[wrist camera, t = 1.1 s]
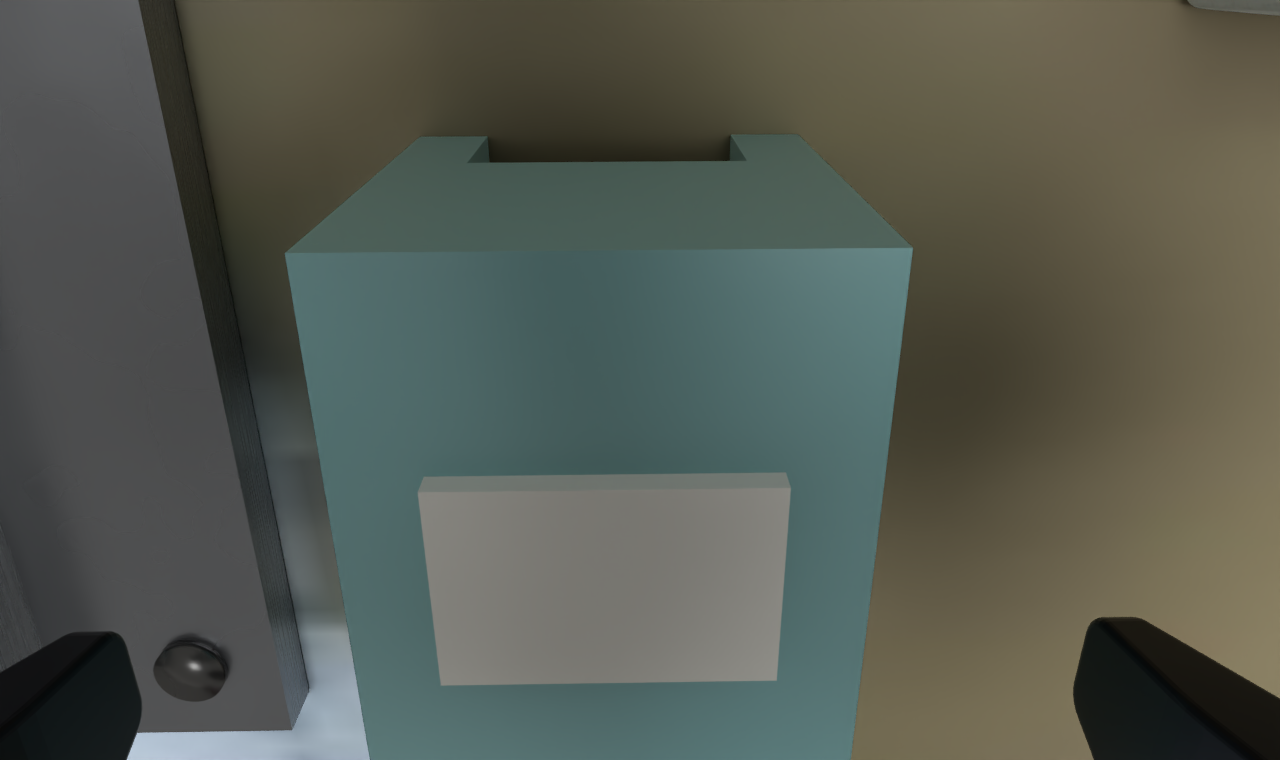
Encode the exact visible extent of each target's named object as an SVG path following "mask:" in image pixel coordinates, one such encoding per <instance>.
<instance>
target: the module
mask: <svg viewBox="0 0 1280 760" xmlns="http://www.w3.org/2000/svg"><path fill="white" fill-rule="evenodd" d="M912 253H913V247H912V246H911V245H910V244H909V243H908V242H907V241H906V240H905V239H904V238H903V237H902V236H901V235H900V234H899V233H898V232H897V231H896V230H894V229H893V228H892V227H891V226H890V225H889V224H888V223H887V222H886V221H885V220H884V219H883V218H882V217H881V216H880V215H879V214H878V213H877V212H876V211H875V210H874V209H873V208H872V207H871V206H870V205H869V204H868V203H867V202H866V201H865V200H864V199H863V198H862V197H861V196H860V195H859V194H858V193H857V192H856V191H855V190H854V189H853V188H852V187H851V186H850V185H849V184H848V183H847V182H846V181H845V180H844V179H843V178H842V177H841V176H840V175H839V174H838V173H837V172H836V171H835V170H834V169H833V168H832V167H831V166H830V165H829V164H828V163H827V162H826V161H825V160H823V159H822V158H821V157H820V156H819V155H818V154H817V153H816V152H815V151H814V150H813V149H812V148H811V147H810V146H809V145H808V144H807V143H806V142H805V141H804V140H803V139H802V138H801V137H800V136H799V135H798V134H750V135H731V138H730V161H661V162H522V163H490V162H489V148H488V136H456V137H419V138H418V139H417V140H416V141H414V142H413V143H412V144H411V145H410V146H409V147H407V148H406V149H405V150H404V151H403V152H402V153H400V154H399V155H398V156H397V157H396V158H395V159H393V160H392V161H391V162H390V163H389V164H388V165H386V166H385V167H384V168H383V169H382V170H381V171H380V172H378V173H377V174H376V175H375V176H374V177H373V178H371V179H370V180H369V181H368V182H367V183H366V184H364V185H363V186H362V187H361V188H360V189H359V190H357V191H356V192H355V193H354V194H353V195H352V196H350V197H349V198H348V199H347V200H346V201H345V202H344V203H342V204H341V205H340V206H339V207H338V208H337V209H335V210H334V211H333V212H332V213H331V214H330V215H328V216H327V217H326V218H325V219H324V220H323V221H321V222H320V223H319V224H318V225H317V226H316V227H314V228H313V229H312V230H311V231H310V232H309V233H308V234H306V235H305V236H304V237H303V238H302V239H301V240H299V241H298V242H297V243H296V244H295V245H294V246H292V247H291V248H290V249H289V250H288V251H287V252H285V258H286V264H287V270H288V276H289V282H290V288H291V294H292V300H293V306H294V312H295V318H296V324H297V329H298V335H299V341H300V347H301V353H302V359H303V365H304V371H305V377H306V383H307V389H308V395H309V401H310V407H311V413H312V419H313V424H314V430H315V436H316V442H317V448H318V454H319V460H320V466H321V472H322V478H323V484H324V490H325V496H326V502H327V508H328V514H329V520H330V525H331V531H332V537H333V543H334V549H335V555H336V561H337V567H338V573H339V579H340V585H341V591H342V597H343V603H344V609H345V615H346V621H347V626H348V632H349V638H350V644H351V650H352V656H353V662H354V668H355V674H356V680H357V686H358V692H359V698H360V704H361V710H362V716H363V722H364V727H365V733H366V739H367V745H368V751H369V757H370V760H851V752H852V744H853V736H854V728H855V720H856V711H857V703H858V695H859V687H860V679H861V670H862V662H863V654H864V646H865V638H866V629H867V621H868V613H869V605H870V597H871V589H872V580H873V572H874V564H875V556H876V548H877V539H878V531H879V523H880V515H881V507H882V498H883V490H884V482H885V474H886V466H887V457H888V449H889V441H890V433H891V425H892V416H893V408H894V400H895V392H896V384H897V375H898V367H899V359H900V351H901V343H902V335H903V326H904V318H905V310H906V302H907V294H908V285H909V277H910V269H911V261H912Z"/></svg>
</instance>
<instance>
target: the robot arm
mask: <svg viewBox="0 0 1280 760" xmlns="http://www.w3.org/2000/svg"><path fill="white" fill-rule="evenodd" d="M1073 697H1074V705H1075V709H1076V713H1077V716H1078V718H1079V721H1080V724H1081V726H1082V729H1083V732H1084V734H1085V737H1086V740H1087V742H1088V745H1089V748H1090V750H1091V753H1092V756H1093V758H1094V760H1280V698H1278V697H1276V696H1275V695H1273V694H1271V693H1269V692H1268V691H1266V690H1264V689H1263V688H1261V687H1259V686H1257V685H1256V684H1254V683H1252V682H1250V681H1249V680H1247V679H1245V678H1244V677H1242V676H1240V675H1238V674H1237V673H1235V672H1233V671H1231V670H1230V669H1228V668H1226V667H1225V666H1223V665H1221V664H1219V663H1218V662H1216V661H1214V660H1212V659H1211V658H1209V657H1207V656H1206V655H1204V654H1202V653H1200V652H1199V651H1197V650H1195V649H1193V648H1192V647H1190V646H1188V645H1187V644H1185V643H1183V642H1181V641H1180V640H1178V639H1176V638H1174V637H1173V636H1171V635H1169V634H1168V633H1166V632H1164V631H1162V630H1161V629H1159V628H1157V627H1155V626H1154V625H1152V624H1150V623H1149V622H1147V621H1145V620H1143V619H1140V618H1136V617H1101V618H1097V619H1095V620H1093V621H1092V622H1091V624H1090V625H1089V626H1088V629H1087V632H1086V636H1085V640H1084V644H1083V648H1082V652H1081V656H1080V660H1079V665H1078V669H1077V673H1076V677H1075V681H1074V687H1073ZM141 718H142V698H141V694H140V690H139V687H138V683H137V680H136V676H135V673H134V670H133V666H132V663H131V659H130V656H129V652H128V649H127V646H126V643H125V641H124V639H123V638H122V637H121V635H119V634H118V633H115V632H113V631H79V632H72V633H68V634H66V635H64V636H62V637H61V638H59V639H57V640H55V641H54V642H52V643H50V644H48V645H47V646H45V647H43V648H41V649H40V650H38V651H36V652H34V653H33V654H31V655H29V656H28V657H26V658H24V659H22V660H21V661H19V662H17V663H15V664H14V665H12V666H10V667H8V668H7V669H5V670H3V671H1V672H0V760H127V758H128V755H129V752H130V750H131V747H132V745H133V742H134V739H135V737H136V734H137V732H138V729H139V726H140V722H141Z"/></svg>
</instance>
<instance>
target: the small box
mask: <svg viewBox="0 0 1280 760" xmlns="http://www.w3.org/2000/svg"><path fill="white" fill-rule="evenodd" d="M1187 1H1188V2H1189V3H1190V4H1191V5H1192V6H1194V7H1196V8H1201V9H1209V10H1220V11H1231V12H1242V13H1253V14H1265V15H1276V16H1280V0H1187Z"/></svg>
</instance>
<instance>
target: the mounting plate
mask: <svg viewBox="0 0 1280 760" xmlns="http://www.w3.org/2000/svg"><path fill="white" fill-rule="evenodd" d="M79 631H113V632H115V633H118V634H119V635H121V637H122V638H123V639H124V641H125V643H126V646H127V649H128V652H129V656H130V659H131V663H132V666H133V670H134V673H135V676H136V680H137V683H138V687H139V690H140V694H141V698H142V718H141V722H140V726H139V729H138V732H137V733H142V732H206V731H271V730H292V729H293V727H294V725H295V722H296V720H297V718H298V715H299V713H300V711H301V709H302V706H303V704H304V702H305V699H306V697H307V695H308V692H309V688H308V683H307V678H306V673H305V668H304V663H303V658H302V653H301V648H300V643H299V637H298V632H297V627H296V622H295V617H294V612H293V607H292V602H291V597H290V592H289V587H288V581H287V576H286V571H285V566H284V561H283V556H282V551H281V546H280V541H279V536H278V531H277V525H276V520H275V515H274V510H273V505H272V500H271V495H270V490H269V485H268V480H267V475H266V469H265V464H264V459H263V454H262V449H261V444H260V439H259V434H258V429H257V424H256V419H255V413H254V408H253V403H252V398H251V393H250V388H249V383H248V378H247V373H246V368H245V363H244V357H243V352H242V347H241V342H240V337H239V332H238V327H237V322H236V317H235V312H234V307H233V301H232V296H231V291H230V286H229V281H228V276H227V271H226V266H225V261H224V256H223V251H222V245H221V240H220V235H219V230H218V225H217V220H216V215H215V210H214V205H213V200H212V195H211V189H210V184H209V179H208V174H207V169H206V164H205V159H204V154H203V149H202V144H201V139H200V133H199V128H198V123H197V118H196V113H195V108H194V103H193V98H192V93H191V88H190V83H189V77H188V72H187V67H186V62H185V57H184V52H183V47H182V42H181V37H180V32H179V27H178V21H177V16H176V11H175V6H174V1H173V0H0V672H1V671H3V670H5V669H7V668H8V667H10V666H12V665H14V664H15V663H17V662H19V661H21V660H22V659H24V658H26V657H28V656H29V655H31V654H33V653H34V652H36V651H38V650H40V649H41V648H43V647H45V646H47V645H48V644H50V643H52V642H54V641H55V640H57V639H59V638H61V637H62V636H64V635H66V634H68V633H72V632H79Z"/></svg>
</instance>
